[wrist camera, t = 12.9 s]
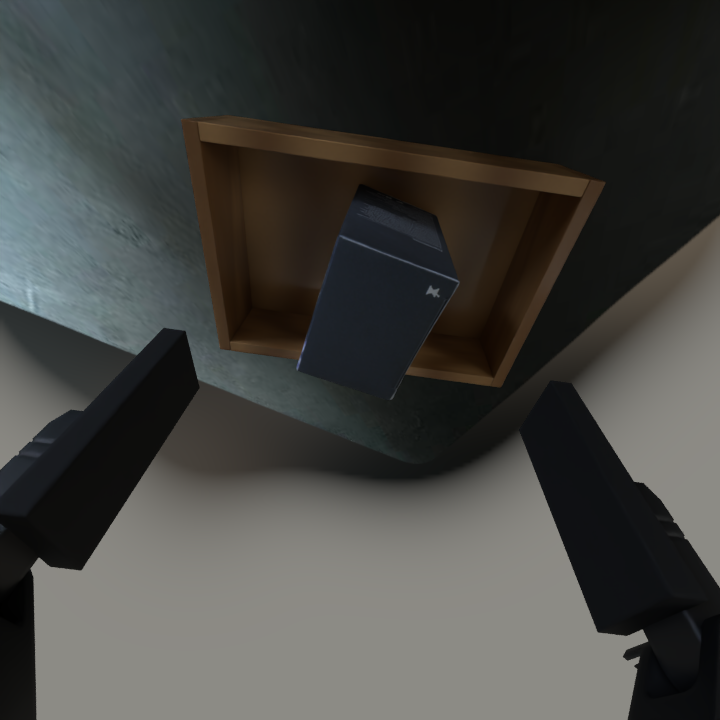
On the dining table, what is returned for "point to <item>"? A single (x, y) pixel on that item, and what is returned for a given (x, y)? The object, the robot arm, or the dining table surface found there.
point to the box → (378, 295)
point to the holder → (327, 213)
